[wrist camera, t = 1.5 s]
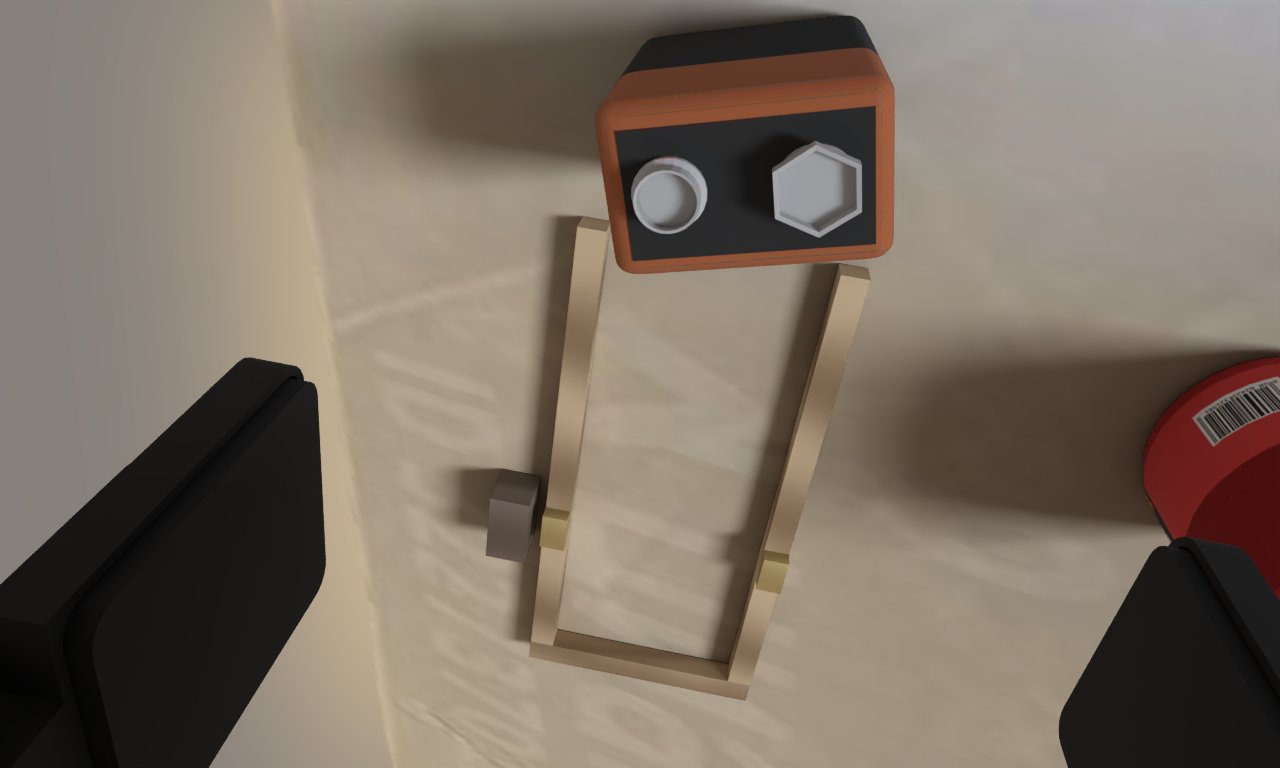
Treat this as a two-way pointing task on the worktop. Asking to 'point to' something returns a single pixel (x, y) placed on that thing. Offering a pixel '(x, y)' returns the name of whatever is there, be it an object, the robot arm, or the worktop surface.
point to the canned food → (1222, 464)
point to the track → (520, 491)
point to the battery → (750, 149)
